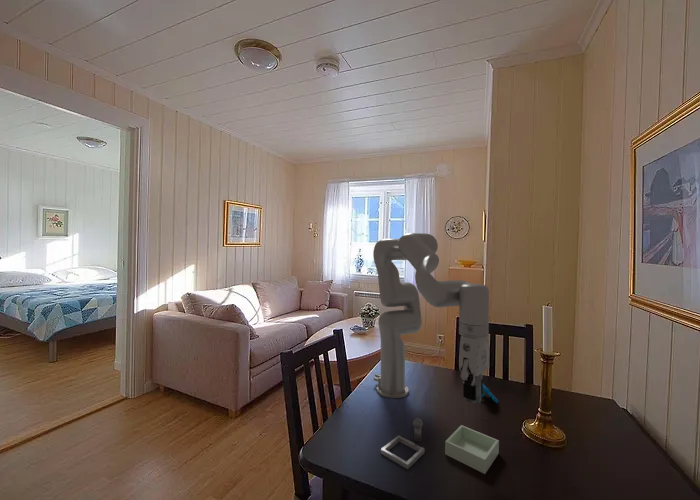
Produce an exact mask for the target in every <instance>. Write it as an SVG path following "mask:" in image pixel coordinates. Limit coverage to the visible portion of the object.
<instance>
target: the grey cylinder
mask: <svg viewBox="0 0 700 500" xmlns="http://www.w3.org/2000/svg"><path fill="white" fill-rule="evenodd" d="M468 372H471V371H470V370H469V371H468ZM468 377H470V378H471V379H472V376H471V375H468ZM481 380H482V379H481V374H480V375H479V376H475V385H476V400H475V401H473V400H470V399H467V398H465V397H464V399H465V401H466V402H468V403H471V404H475V405H476V404H481V402H482V398H481Z"/></svg>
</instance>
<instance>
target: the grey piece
mask: <svg viewBox="0 0 700 500" xmlns="http://www.w3.org/2000/svg"><path fill="white" fill-rule="evenodd" d="M412 425H413V427H414V432H413V433H414V438H413V440H414V442H416V443H421V442H422V428H423V425H424V423H423V420H422V419H420V418H419V417H416V418H414V420H413V421H412ZM414 442H413V441H410V440H409V439H407V438H405V437H403V436H401V435H399V434H398V435H397V436H395V438H393V439H392V440H390V441H389V442H388V443H387V444H386V445H384V446H382V447H381V449H380V454H381V455H383V456H384V457H385V458H388V459H389V460H391V461H392V462H394V463H396V464H398V465H399V466H401V467H402V468H404V469H406V470H409V469H410V468H411V467H412V466H413V465H414V464H415V463H416V462H417V461H418V460H419V459H420V458H421V457H422V456H423V455H424V454H425V447H422V446H420V445H418V444H416V443H414ZM398 443H400V444H403V445H405V446H406V447H409V448H410V449H412V450H414V451H416V452H415V453H414V454H413V455H412V456H411V457H410V458H408V460H405V459H403V458H401V457H399V456H398V455H396V454H394V453H392V452H391V451H390V450H391V449H392V448H393V447H395V445H397V444H398Z"/></svg>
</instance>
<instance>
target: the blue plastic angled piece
mask: <svg viewBox="0 0 700 500" xmlns="http://www.w3.org/2000/svg"><path fill="white" fill-rule="evenodd" d="M487 395H488V396H489V397H490V398H491V399H492V401H493V402H495V404H498V403H499V400H498V399H497V397H496V396H495V395H494V394H493V393H492V392H491V391H490V388H489V387H487V386H486V385H485V384H484V383H483V390H482V394H481V399H482V398H483V397H484V396H487Z"/></svg>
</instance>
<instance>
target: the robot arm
mask: <svg viewBox="0 0 700 500" xmlns="http://www.w3.org/2000/svg"><path fill="white" fill-rule="evenodd" d="M438 247H439V245H438V241H437V239H436V237H435V236H433V234H429V233H426V232H425V233H424V232H423V233H420V232H419V233H417V232H409V233H405V234H403V235H401V237H400V238H383V239H381V240H378V241H377V242H376V243H375V244H374V247H373V252H372V253H373V261H374V266H375V269H376V271H377V281H378V289H379V298H380V299H379V300H380V302H381V305H382V306H383V307H386V308H397V307H398V308H399V307H403V309H395V310H388V311H384V312H382V313H381V314H380V316H379V318H378V319H377V320H378V330H379V335H380V374H379V373H375V374H374V377H373V381H375V382H377V383H378V384H377V385H376V392H377V393H378V395H380V396H382V397H384V398H389V399H403V398H405V397H407V396H408V394H409V393H410V389H409V387H408V386H407V385H406V384H405V383H406V381H405V380H406V379H405V378H406V345H405V343H404V341H403V340H402V337H401V336H404V335H408V334H414V333H418V332H419V331H420V330H421V328H422V313H421V301H420V295H419V293H420V294H421V296H422V297H423V299H424V300H426V302H427V303H428V304H429V305H431V306H432V307H435V308H448V307H458V308H459V309H458V312H459V313H458V315H459V316H458V334H459V335H460V340H459V354H458V356H459V357H458V358H459V359H458V366H459V367H458V368H459V371H460V378H461V379H462V383H463V387H462V388H463V392H462V393H463V395H462V397H463V398H464V399H465V398H467V399H470V400H473V401H475V400H476V385H475V376H479V375H480V374H481V394H482V390H483V384H484V382H483V378H484V372H485V371H487V370H488V369H489V367H490V351H489V349H490V348H489V335H490V334H489V331H490V330H489V329H490V328H489V327H490V325H489V321H490V315H489V314H490V306H489V305H490V291H489V288H488V286H487V285H485V284H482V283H471V282H469V281H466V280H461V279H460V280H459V279H458V280H439V281H438V280H437V279H436V278H435V277H434V276H433V275H432V273H433V272H434V271H435V270H436V269H437V267H438V266H439V262H440V258H439V256H438V254H436V253H437V251H438ZM393 261H408V262H409V263H410V264H411V266H412V267H413V268H414V269H415V275H414V276H415V277H414V278H415V285H416V286H415V285H414V284H413V283H412V282H405V281H404V282H401V280H400V271H399V269H398V268H397V266H396V264H394V262H393ZM469 370H470V371H471V372H468V371H469ZM468 375H471V376H472V379H471V378H470V377H468Z"/></svg>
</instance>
